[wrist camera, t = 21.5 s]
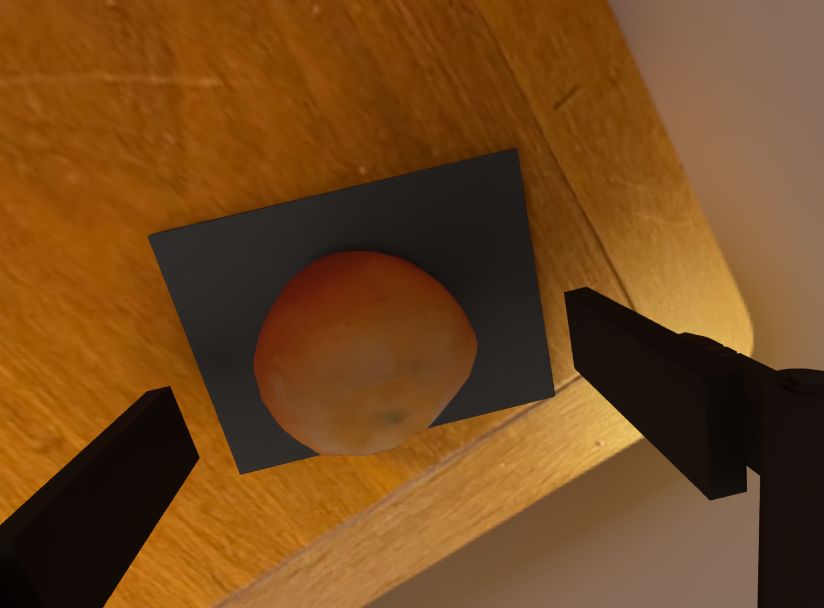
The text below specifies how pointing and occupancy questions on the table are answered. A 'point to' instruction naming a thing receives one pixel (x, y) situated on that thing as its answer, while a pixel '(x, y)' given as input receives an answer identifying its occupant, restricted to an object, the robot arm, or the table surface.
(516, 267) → the mat
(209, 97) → the table surface
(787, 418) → the robot arm
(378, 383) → the fruit
